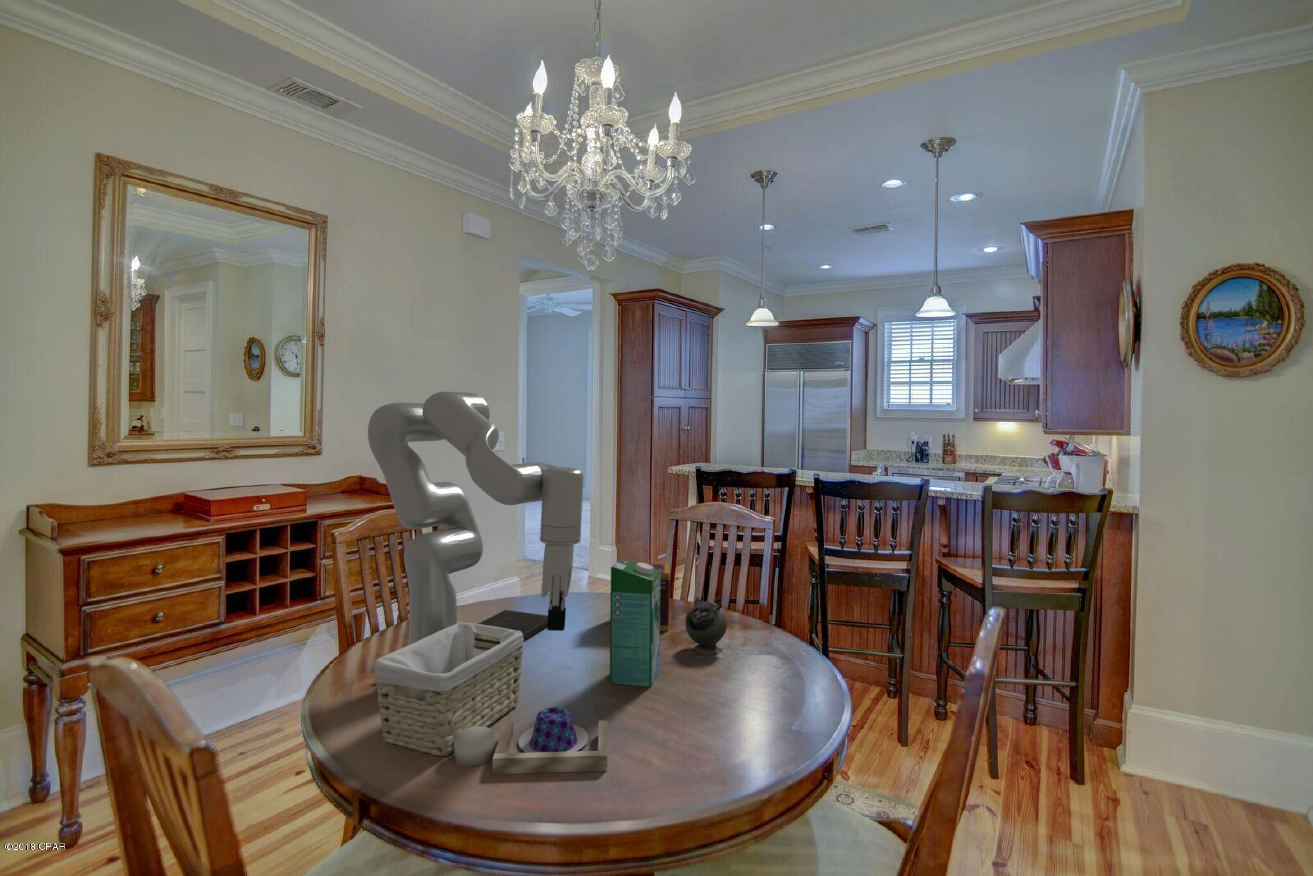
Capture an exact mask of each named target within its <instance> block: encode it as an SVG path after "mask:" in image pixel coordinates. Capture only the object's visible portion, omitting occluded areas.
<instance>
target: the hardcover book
mask: <svg viewBox="0 0 1313 876" xmlns="http://www.w3.org/2000/svg"><path fill="white" fill-rule="evenodd" d="M547 623H548V614H541V613H540V614H538V613H532V612H525V611H524V612H523V611H516V610H510V609H509V610H508V609H504V610H502V611H500V612H498V613H496V614H495V615H492V616H491V617H488V618H487V619H485V620H483V621H480V622H479V623H477V624H482V625H488V626H495V627H500V628H506V629H511V630H516V631H521V632H522V634H523V642H524V643H525V642H527V641H528V640H530V639H532V638H533V637H535V636H537V635H538V634H540V633H541V632H543V631H544V630H546V629H547ZM499 644H500V642H498V641H493V640H491V641H490V640H487V639H480V638H475V646H474V647H480V648H487V649H491V648H493V647H495V646H497V645H499Z"/></svg>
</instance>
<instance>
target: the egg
mask: <svg viewBox="0 0 1313 876" xmlns="http://www.w3.org/2000/svg"><path fill="white" fill-rule="evenodd" d="M453 753H454V754H453V759H454V762H455V763H456V764H457V765H459V766H461V767H476V766H477V767H478V766H480V765H484V764H486V763H488V762H489V761H491V760H493V756H494V753H495V731H494V730H493V729H491V728H490V727H489V726H487V727H481V726H478V727H470V728H466V729H464V730H461V731H460V732H458V733H457V734H456V735H455V737H454V752H453Z"/></svg>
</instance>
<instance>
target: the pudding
mask: <svg viewBox="0 0 1313 876" xmlns="http://www.w3.org/2000/svg"><path fill="white" fill-rule="evenodd" d="M588 741H589V735H588V733H587V730H585V729H584V728H583V727H581V726H579V725H576V724H574V721H573V717H572V715H571V712H569V710H568V709H566V708H565V707H563V708H562V707H559V706H554V707H547V708H544V709H543V710H540V711H539V712H538V713H537V715H536V717H535V722H534V726H533V727H530V728H529V729H526V730H525V731H524V732H523V733H521V735H520V736H519V738H518V741H517V742H518V743H517V744H518V747H519V748H520V749H521V751H523V753H535V752H564V751H565V752H573V751H579V750H581V749H582V748H583V747H585V745H586V744H587V743H588ZM533 749H535V750H533Z"/></svg>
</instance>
